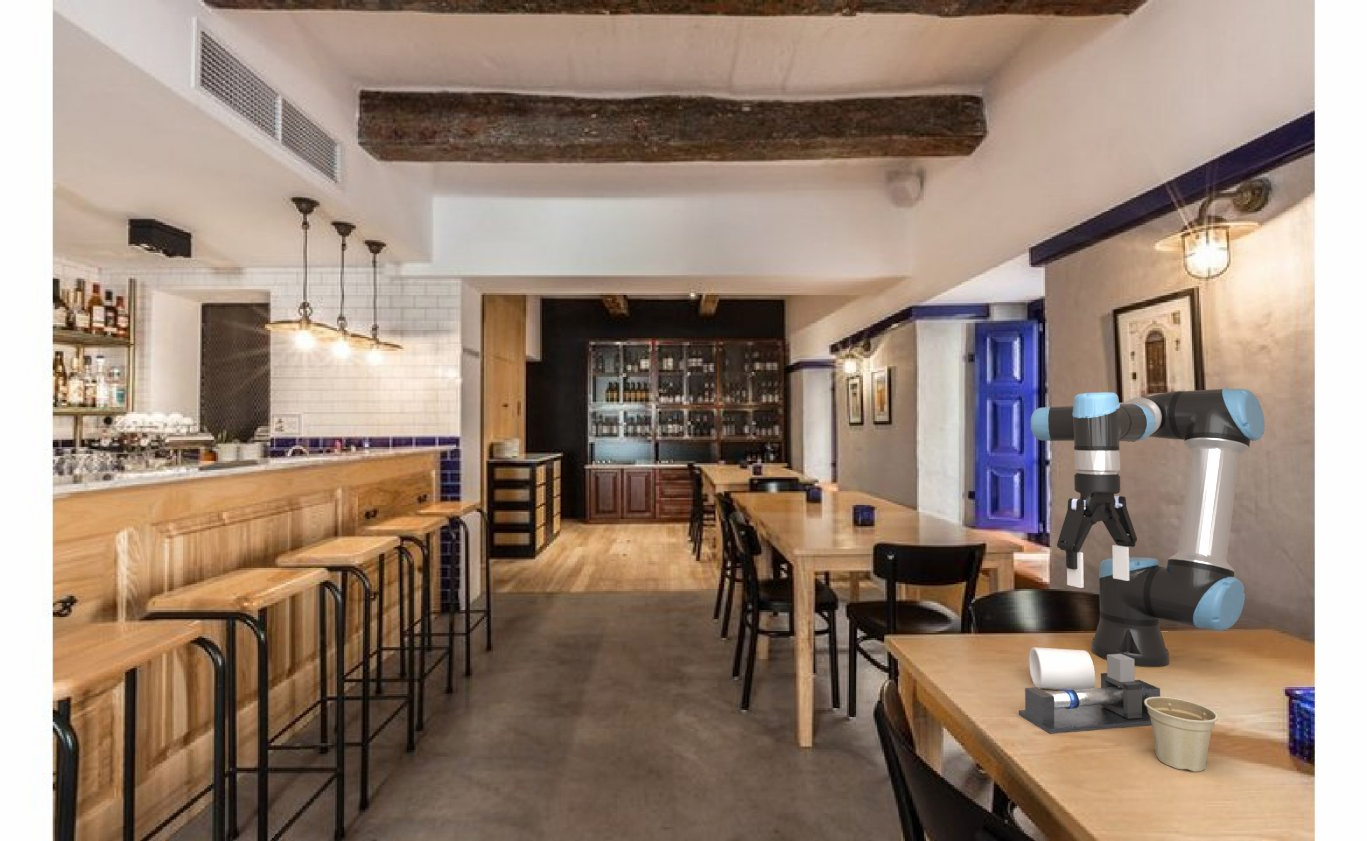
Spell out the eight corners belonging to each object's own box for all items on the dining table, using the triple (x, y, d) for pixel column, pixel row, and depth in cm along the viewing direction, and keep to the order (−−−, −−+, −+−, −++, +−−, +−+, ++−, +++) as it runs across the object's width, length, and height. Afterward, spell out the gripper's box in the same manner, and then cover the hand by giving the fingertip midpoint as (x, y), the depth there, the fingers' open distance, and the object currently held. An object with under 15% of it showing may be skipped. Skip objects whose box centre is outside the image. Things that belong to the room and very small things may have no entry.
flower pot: (1220, 761, 105) (1220, 707, 105) (1217, 784, 98) (1216, 726, 98) (1149, 743, 111) (1148, 691, 111) (1140, 763, 104) (1140, 708, 104)
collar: (1114, 704, 125) (1114, 651, 125) (1142, 717, 119) (1141, 661, 119) (1101, 705, 124) (1100, 651, 125) (1127, 718, 118) (1127, 662, 119)
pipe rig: (1131, 705, 127) (1131, 676, 127) (1169, 723, 119) (1168, 691, 119) (1018, 714, 122) (1018, 683, 122) (1049, 733, 114) (1049, 700, 115)
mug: (1095, 698, 130) (1095, 657, 131) (1041, 694, 132) (1040, 654, 133) (1072, 676, 142) (1072, 639, 142) (1023, 673, 144) (1022, 636, 144)
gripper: (1118, 469, 136) (1119, 572, 135) (1034, 473, 125) (1036, 585, 125) (1156, 471, 129) (1159, 580, 128) (1072, 475, 118) (1074, 593, 118)
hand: (1098, 582), depth 127 cm, fingers open, 13 cm apart
